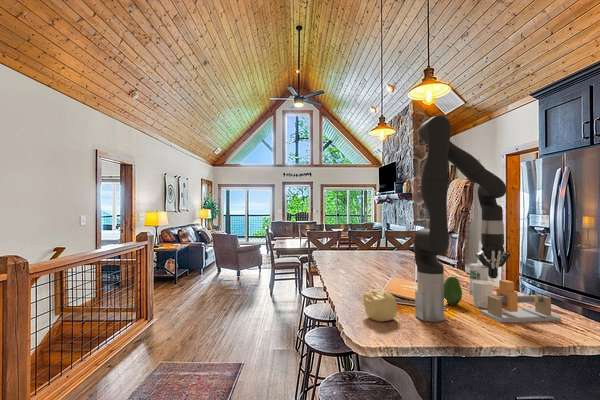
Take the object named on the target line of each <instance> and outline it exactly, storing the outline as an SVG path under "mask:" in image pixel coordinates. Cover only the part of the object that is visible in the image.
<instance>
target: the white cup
mask: <svg viewBox="0 0 600 400" xmlns="http://www.w3.org/2000/svg"><path fill="white" fill-rule="evenodd" d="M472 292H473V294H472V301H473V303H472V304H473V306H475V307H478V308H482V309H488V296H490V295H493V294H494V282H492V281H489V280H488V281H483V280H473V281H472ZM493 296H494V295H493Z"/></svg>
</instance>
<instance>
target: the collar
mask: <svg viewBox="0 0 600 400" xmlns="http://www.w3.org/2000/svg"><path fill="white" fill-rule="evenodd" d="M498 284H499V286H498V287H499V288H498V287H496V296H507V303H502V310H503V309H504V310H507V311H509V312H518V309H519V308H518V305H519V303H518V301H517V296H518V292H517V291H515V282H514V281H512V280H507V279H499V280H498Z"/></svg>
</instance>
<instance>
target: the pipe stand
mask: <svg viewBox="0 0 600 400" xmlns="http://www.w3.org/2000/svg"><path fill="white" fill-rule="evenodd" d="M517 301H518V304H520V303H522V304H523V303H525V304H526V303H531V304H535V305H534V307H535V308H518V312H509V311H507V310H504V309H502V303H507V296H497V295H495V296H494V295H490V296H488V308H487V309H480V310H479V314H481V315H484V316H486V317H488V318H490V319H492V320H495V322H496V321H497V322H499V323H522V322H525V323H526V322H527V323H528V322H529V323H530V322H553V321H554V322H555V321H558V322H559V321H562V320H561V317H560V316H557V315H555V314H552V298H551V297H549V296H545V295H543V294H540V293H539V294H536V293H535V294H530V295H517Z"/></svg>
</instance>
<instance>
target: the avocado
mask: <svg viewBox="0 0 600 400" xmlns="http://www.w3.org/2000/svg"><path fill="white" fill-rule="evenodd" d="M444 281H445V282H444V298H445V299H446V300H447V302H446V304H448V305H450V306H451V305H452V306H456V305H458V304H459V303H460V302H461V300H462V297H463V289H462V287H461V284H460V281H459V279H458V277H456V276H449V277H448V278H446V280H444Z"/></svg>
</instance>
